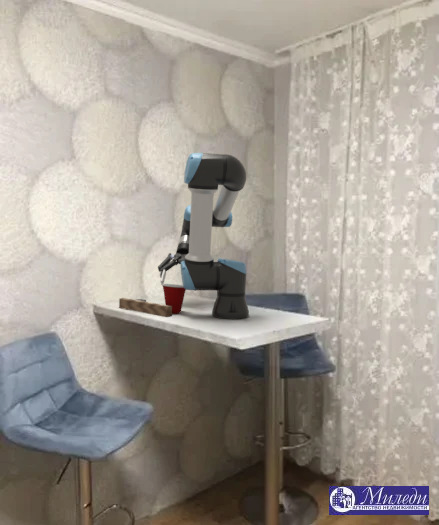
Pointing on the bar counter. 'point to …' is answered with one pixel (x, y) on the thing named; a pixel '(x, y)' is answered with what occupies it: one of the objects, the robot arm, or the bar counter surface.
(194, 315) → the bar counter surface
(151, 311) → the rail
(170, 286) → the plastic cup
